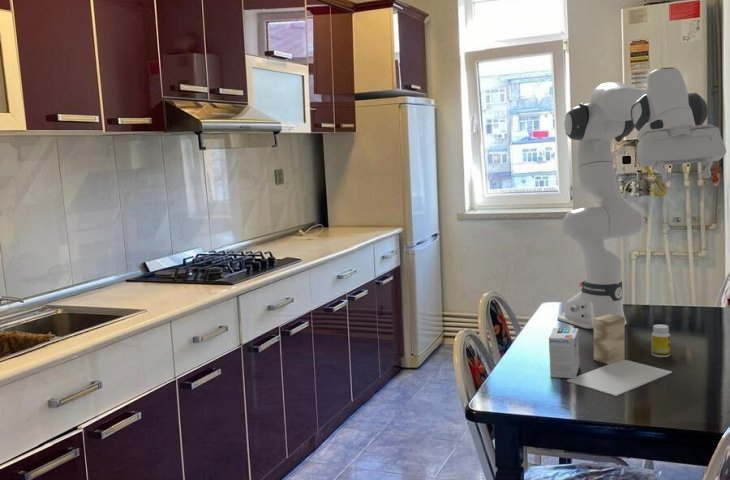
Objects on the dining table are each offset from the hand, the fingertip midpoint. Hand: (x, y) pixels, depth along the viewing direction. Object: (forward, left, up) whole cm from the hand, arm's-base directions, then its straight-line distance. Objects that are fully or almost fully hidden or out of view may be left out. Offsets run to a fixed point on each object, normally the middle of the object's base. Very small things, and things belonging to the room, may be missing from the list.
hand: (687, 178), depth 163 cm
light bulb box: (-24, -16, -51) cm, 59 cm away
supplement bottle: (-15, +14, -51) cm, 55 cm away
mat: (-13, -9, -51) cm, 53 cm away
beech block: (-23, +1, -51) cm, 56 cm away
